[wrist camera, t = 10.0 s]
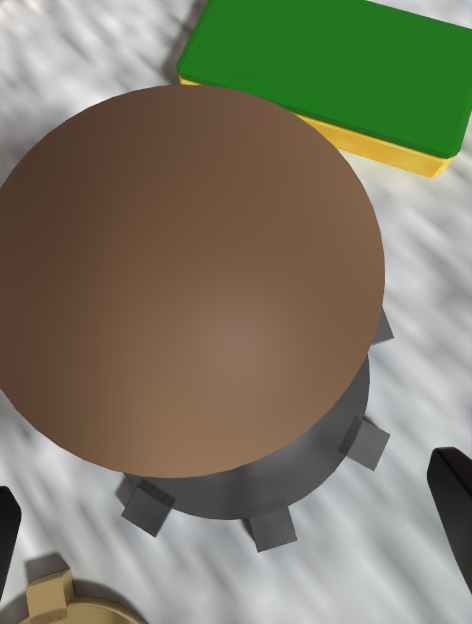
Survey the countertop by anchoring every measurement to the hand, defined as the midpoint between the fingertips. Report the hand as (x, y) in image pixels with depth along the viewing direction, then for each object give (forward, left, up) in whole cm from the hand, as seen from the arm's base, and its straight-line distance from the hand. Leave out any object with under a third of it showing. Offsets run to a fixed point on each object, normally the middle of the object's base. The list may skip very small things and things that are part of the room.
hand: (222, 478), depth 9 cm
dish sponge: (+16, -10, -10) cm, 21 cm away
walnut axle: (+3, -1, -8) cm, 9 cm away
